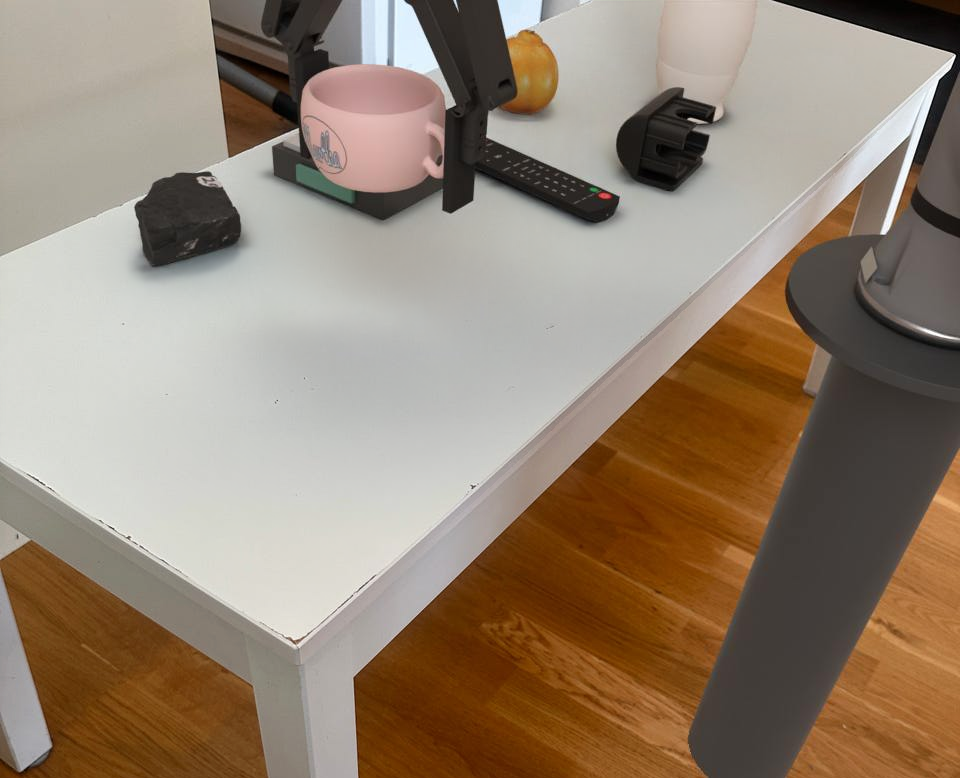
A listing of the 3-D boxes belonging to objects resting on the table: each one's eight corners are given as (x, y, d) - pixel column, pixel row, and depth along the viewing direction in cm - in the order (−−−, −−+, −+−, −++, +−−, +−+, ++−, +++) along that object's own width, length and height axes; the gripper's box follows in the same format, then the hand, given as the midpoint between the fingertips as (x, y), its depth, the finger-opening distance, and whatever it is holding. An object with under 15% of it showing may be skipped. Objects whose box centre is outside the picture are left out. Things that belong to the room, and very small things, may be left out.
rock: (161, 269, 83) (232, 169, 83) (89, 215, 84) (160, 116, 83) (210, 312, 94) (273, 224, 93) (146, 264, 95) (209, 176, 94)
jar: (692, 136, 116) (726, -13, 105) (626, 105, 121) (651, -41, 110) (748, 117, 122) (786, -27, 111) (682, 88, 126) (712, -53, 115)
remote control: (447, 133, 112) (448, 120, 111) (622, 211, 102) (624, 198, 101) (414, 145, 109) (414, 132, 108) (590, 227, 99) (592, 214, 98)
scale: (467, 174, 105) (469, 140, 103) (380, 222, 97) (380, 186, 94) (362, 134, 110) (362, 101, 107) (270, 176, 102) (267, 141, 99)
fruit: (551, 69, 121) (527, 7, 114) (578, 102, 116) (556, 39, 110) (492, 109, 122) (465, 50, 115) (517, 143, 118) (491, 84, 111)
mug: (275, 175, 72) (267, 86, 68) (369, 136, 78) (368, 51, 73) (403, 233, 67) (404, 141, 63) (494, 186, 73) (500, 99, 69)
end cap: (646, 144, 114) (658, 79, 109) (704, 162, 112) (720, 97, 107) (609, 175, 108) (620, 108, 103) (670, 194, 106) (685, 126, 101)
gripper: (175, -243, 58) (222, 145, 74) (529, -165, 50) (496, 252, 66) (264, -253, 63) (291, 115, 79) (604, -183, 54) (556, 212, 70)
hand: (385, 178), depth 72 cm, fingers closed on mug, 12 cm apart
